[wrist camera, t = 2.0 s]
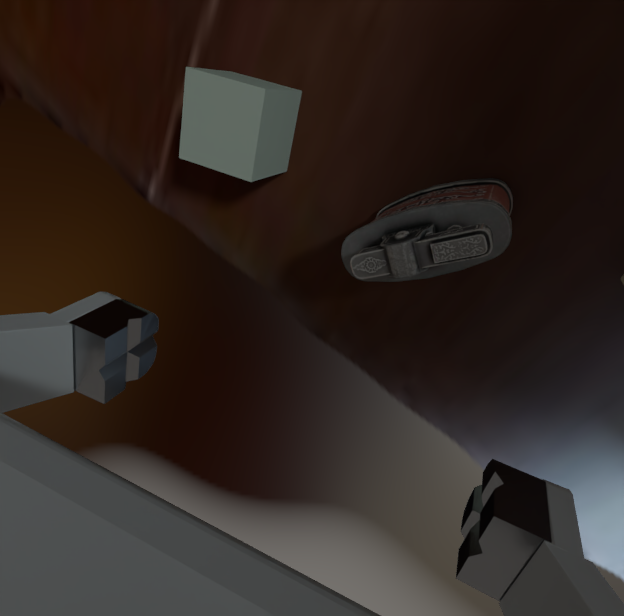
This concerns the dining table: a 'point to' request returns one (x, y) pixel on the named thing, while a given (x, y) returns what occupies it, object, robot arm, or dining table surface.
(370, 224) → the lighter
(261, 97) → the sage block
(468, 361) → the dining table surface
